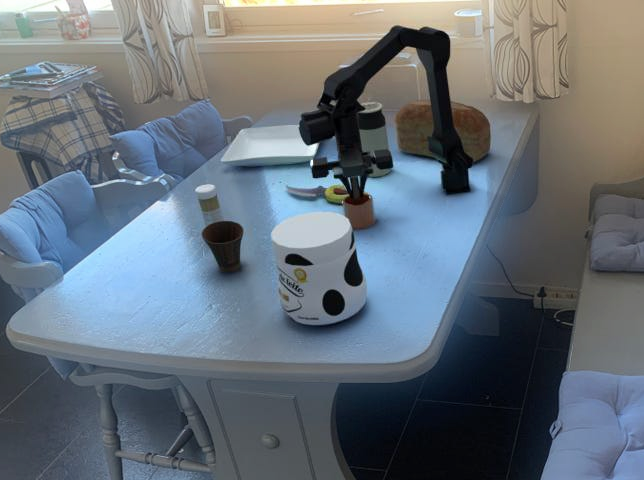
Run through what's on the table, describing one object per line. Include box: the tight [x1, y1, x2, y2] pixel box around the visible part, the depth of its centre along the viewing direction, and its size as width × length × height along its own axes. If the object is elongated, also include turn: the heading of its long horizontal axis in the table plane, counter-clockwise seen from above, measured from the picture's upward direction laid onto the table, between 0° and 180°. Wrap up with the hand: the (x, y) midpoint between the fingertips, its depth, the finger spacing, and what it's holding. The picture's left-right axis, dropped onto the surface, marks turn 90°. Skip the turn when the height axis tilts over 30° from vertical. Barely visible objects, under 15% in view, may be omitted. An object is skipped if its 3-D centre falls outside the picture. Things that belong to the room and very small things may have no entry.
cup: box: [201, 220, 245, 274], centre depth 166 cm, size 9×9×10 cm
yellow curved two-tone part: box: [284, 184, 369, 204], centre depth 197 cm, size 8×3×25 cm
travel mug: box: [357, 101, 392, 178], centre depth 204 cm, size 8×8×18 cm
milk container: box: [270, 211, 368, 328], centre depth 148 cm, size 17×17×18 cm
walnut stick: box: [349, 176, 362, 205], centre depth 180 cm, size 2×2×8 cm
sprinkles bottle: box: [194, 183, 225, 227], centre depth 178 cm, size 5×5×13 cm
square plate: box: [220, 124, 320, 167], centre depth 225 cm, size 27×27×4 cm
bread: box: [394, 99, 492, 163], centre depth 212 cm, size 12×28×14 cm, turn 59°
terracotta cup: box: [341, 193, 376, 230], centre depth 183 cm, size 7×7×6 cm
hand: (356, 197), depth 180 cm, fingers closed on walnut stick, 2 cm apart
